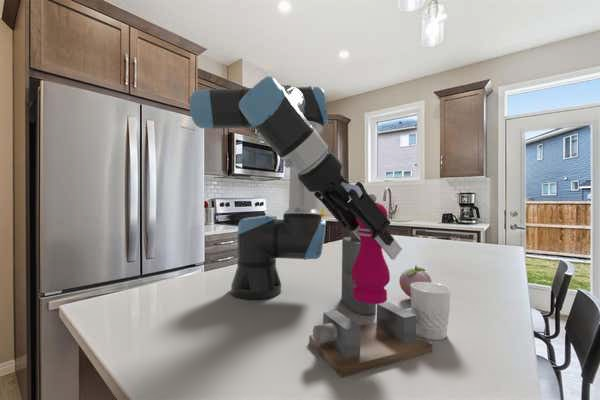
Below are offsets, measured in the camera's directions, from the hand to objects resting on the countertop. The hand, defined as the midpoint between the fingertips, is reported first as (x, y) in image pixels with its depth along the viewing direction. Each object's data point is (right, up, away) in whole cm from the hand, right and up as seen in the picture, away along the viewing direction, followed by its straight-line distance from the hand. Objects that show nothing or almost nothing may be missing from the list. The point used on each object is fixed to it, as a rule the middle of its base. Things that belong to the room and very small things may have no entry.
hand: (385, 251), depth 57 cm
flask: (-2, -19, +22) cm, 29 cm away
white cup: (+11, -19, +6) cm, 23 cm away
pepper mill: (-4, -9, -2) cm, 10 cm away
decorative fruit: (+16, -19, +26) cm, 36 cm away
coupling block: (-4, -19, -1) cm, 19 cm away
